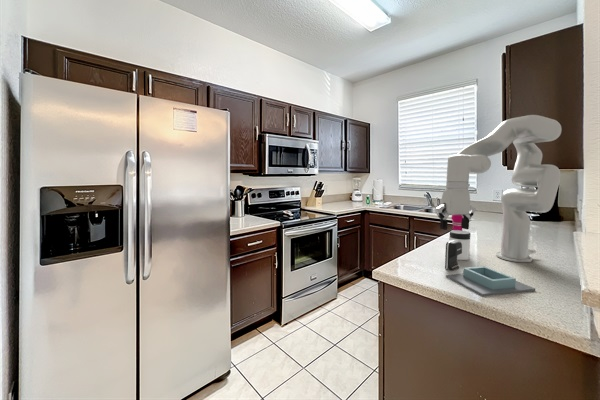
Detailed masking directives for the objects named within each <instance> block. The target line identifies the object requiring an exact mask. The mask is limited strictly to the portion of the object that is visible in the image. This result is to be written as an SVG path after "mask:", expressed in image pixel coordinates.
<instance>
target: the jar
mask: <svg viewBox="0 0 600 400" xmlns="http://www.w3.org/2000/svg"><path fill="white" fill-rule="evenodd" d="M448 239H449V240H448V241H451V240H455V241H459V242H461V243H462V254H459V255H457V261H469V260H470V259H469V258H470V253H471V252H470V251H471V250H470V249H471V232H470V231H467V230H462V231H461V230H453V229H452V230H450V231H449V238H448Z"/></svg>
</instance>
